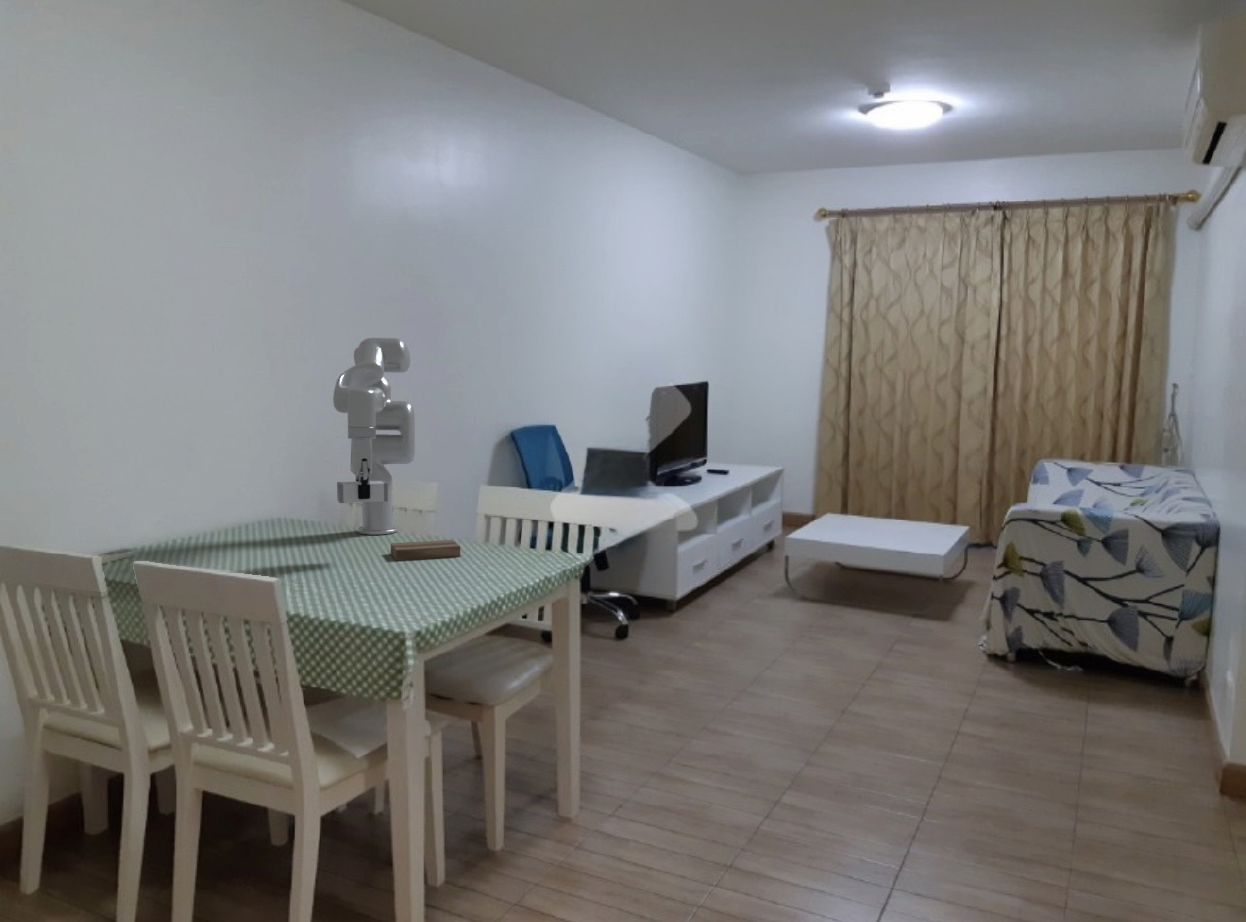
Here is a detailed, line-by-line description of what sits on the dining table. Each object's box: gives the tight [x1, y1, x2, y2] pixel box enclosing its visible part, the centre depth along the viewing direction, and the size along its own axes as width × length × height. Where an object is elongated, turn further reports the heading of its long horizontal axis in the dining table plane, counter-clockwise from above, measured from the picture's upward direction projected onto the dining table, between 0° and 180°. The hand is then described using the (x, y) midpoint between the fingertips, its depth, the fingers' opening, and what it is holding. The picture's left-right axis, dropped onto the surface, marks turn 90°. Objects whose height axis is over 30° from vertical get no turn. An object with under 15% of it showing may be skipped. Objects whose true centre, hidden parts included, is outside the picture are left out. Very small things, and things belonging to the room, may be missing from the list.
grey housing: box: [336, 481, 388, 504], centre depth 269 cm, size 6×13×5 cm, turn 112°
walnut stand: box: [390, 539, 461, 561], centre depth 276 cm, size 10×18×3 cm, turn 113°
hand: (362, 496), depth 269 cm, fingers closed on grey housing, 6 cm apart
